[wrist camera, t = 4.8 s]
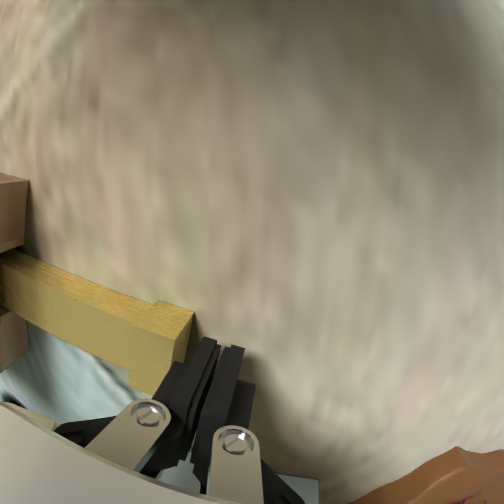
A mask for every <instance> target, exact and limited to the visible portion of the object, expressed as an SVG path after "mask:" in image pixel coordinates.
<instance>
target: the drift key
mask: <svg viewBox="0 0 504 504" xmlns="http://www.w3.org/2000/svg"><path fill="white" fill-rule="evenodd" d="M0 304H1V305H2V306H4V307H6V308H7V309H9V310H10V311H12V312H14V313H15V314H17V315H19V316H20V317H22V318H24V319H25V320H27V321H29V322H31V323H32V324H34V325H36V326H38V327H39V328H41V329H43V330H45V331H47V332H49V333H50V334H52V335H54V336H56V337H58V338H60V339H62V340H64V341H66V342H68V343H70V344H72V345H74V346H76V347H78V348H80V349H82V350H84V351H86V352H88V353H90V354H92V355H95V356H97V357H99V358H101V359H103V360H106V361H108V362H110V363H112V364H115V365H117V366H119V367H122V368H124V369H127V370H129V371H130V374H129V387H132V388H134V389H137V390H139V391H142V392H144V393H147V394H149V395H152V396H154V394H155V392H156V391H157V389H158V387H159V386H160V384H161V382H162V381H163V379H164V377H165V376H166V374H167V372H168V371H169V369H170V367H171V366H172V364H173V363H174V361H177V362H180V363H184V361H185V355H186V350H187V345H188V340H189V335H190V330H191V325H192V320H193V315H194V312H192V311H189V310H186V309H183V308H180V307H177V306H174V305H171V304H168V303H165V302H162V301H159V300H158V301H157V302H156V303H155V304H154V305H152V304H149V303H146V302H143V301H140V300H137V299H135V298H132V297H129V296H126V295H124V294H121V293H118V292H116V291H113V290H110V289H108V288H105V287H103V286H100V285H97V284H95V283H92V282H90V281H87V280H85V279H82V278H80V277H77V276H75V275H72V274H70V273H68V272H65V271H63V270H60V269H58V268H56V267H53V266H51V265H49V264H46V263H44V262H42V261H40V260H37V259H35V258H33V257H31V256H28V255H26V254H24V253H22V252H20V251H18V250H15V249H13V248H12V249H9V250H7V251H4V252H1V253H0Z"/></svg>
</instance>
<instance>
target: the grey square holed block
mask: <svg viewBox="0 0 504 504" xmlns="http://www.w3.org/2000/svg"><path fill="white" fill-rule="evenodd" d="M191 454H192V452H188V455H187V458H186V460H185V461H182V460H179V463H178V465H177V467H175V466H174V467H171V468H168V469H164V472H163V474H162V476H161V478H160V479H159V481H162V482H165V483H168V484H171V485H174V486H177V487H180V488H183V489H186V490H190V491H193V492H197V493H198V489H199V484H200V482H199V481H198V479H197V478H196V477H195V475H194V474H193V473H192V471H193V467H194V464H192V463H190V458H191ZM276 474H277V473H276ZM277 475H278V476H279V477H280V478H281V479H282V480H283V481H284V482H285V483H286V484H287V485H288V486H290V487H291V488H292V489H293V490H294V491H295V492H296V493H297V494H298V495H299V496H300V497H301V498H302V499H303V500H304V501H305V503H307V504H314V503H317V504H319V489H318V480H316V479H308V478H301V477H294V476H288V475H282V474H277Z"/></svg>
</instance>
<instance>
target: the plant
mask: <svg viewBox="0 0 504 504" xmlns="http://www.w3.org/2000/svg"><path fill="white" fill-rule="evenodd" d="M349 504H504V450H502V449H501V450H496V451H493V452H489V453H483V454H480V453H474V452H469V451H466V450H464V449H462V448H460V447H458V446H457V447H454V448H452V449H451V450H449V451H447V452H445V453H443V454H441V455H439V456H437V457H435V458H433V459H431V460H429V461H427V462H425V463H424V464H422V465H421V466H420V467H418V468H417V469H415V470H414V471H412V472H411V473H409V474H408V475H406V476H404V477H403V478H401V479H399V480H396V481H394V482H392V483H389V484H387V485H384V486H382V487H379V488H377V489H375V490H374V491H372V492H370V493H368V494H366V495H365V496H363V497H361V498H359V499H357V500H355V501H353V502H351V503H349Z"/></svg>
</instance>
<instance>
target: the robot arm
mask: <svg viewBox="0 0 504 504" xmlns="http://www.w3.org/2000/svg"><path fill="white" fill-rule="evenodd" d="M220 349H221V345H218V344H217V340H214V339H211V338H207V337H203V338H202V340H201V342H200V344H199V346H198V348H197V350H196V351H195V353H194V355H193V357H192V359H191V361H190V363H189V365H187V364H184V363H180V362H177V361H174V363H173V364H172V366H171V367H170V369H169V371H168V372H167V374H166V376H165V377H164V379H163V381H162V382H161V384H160V386H159V387H158V389H157V391H156V392H155V394H154V396H153V397H152V399H138V400H135V401H133V402H131V403H130V404H129V405H128V406H127V407H126V408H125V409H124V410H123V411H122V412H121V413H120V414H119V415H118V416H113V417H106V418H100V419H93V420H85V421H77V422H68V423H64V424H61V425H59V424H57V423H56V420H53V419H50V418H48V417H45V416H42V415H39V414H37V413H34V412H32V411H29V410H27V409H24V408H22V407H19V406H17V405H14V404H12V403H8V402H5V403H3V402H0V504H307V503H305V501H304V500H303V499H302V498H301V497H300V496H299V495H298V494H297V493H296V492H295V491H294V490H293V489H292V488H291V487H290V486H288V485H287V484H286V483H285V482H284V481H283V480H282V479H281V478H280V477H279V476H278V475H277V474H276V473H275V472H274V471H273V470H272V469H271V468H270V467H269V466H268V465H267V464H266V463H265V462H264V461H263V460H262V459H261V458H260V448H259V442H258V439H257V438H256V436H255V435H254V434H253V433H252V432H251V431H249V430H248V426H249V420H250V414H251V409H252V403H253V397H254V392H255V384H252V383H248V382H244V381H241V380H237V377H238V373H239V370H240V366H241V362H242V358H243V354H244V350H245V348H242V347H239V346H235V345H231V348H229V347H225V349H224V351H223V354H222V357H221V359H220V362H219V365H218V367H217V370H216V373H215V369H216V365H217V361H218V357H219V353H220ZM214 373H215V376H214ZM213 377H214V378H213ZM196 431H197V432H196ZM195 433H196V437H195V441H194V445H193V450H192V454H191V458H190V463H192V464H194V467H193V471H192V473H193V474H194V475H195V477H196V478H197V479H198V481H199V482H200V484H199V489H198V493H197V492H193V491H190V490H186V489H183V488H180V487H177V486H174V485H171V484H168V483H165V482H162V481H159V479H160V478H161V476H162V474H163V472H164V469H168V468H171V467H174V466H175V467H177V465H178V463H179V460H182V461H185V460H186V458H187V455H188V452H189V450H190V447H191V444H192V442H193V439H194V436H195ZM314 504H317V503H314Z"/></svg>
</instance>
